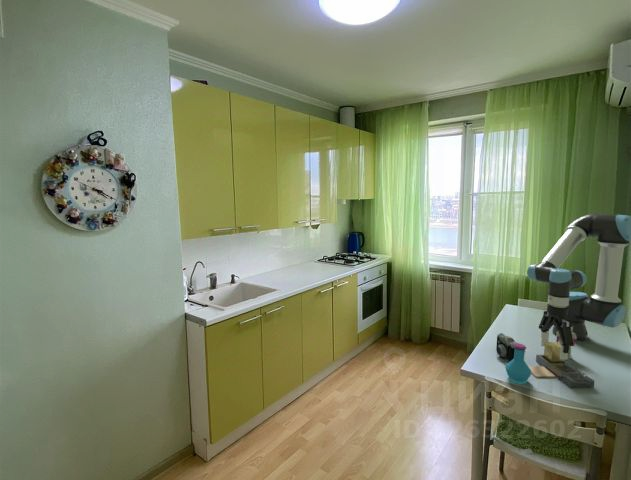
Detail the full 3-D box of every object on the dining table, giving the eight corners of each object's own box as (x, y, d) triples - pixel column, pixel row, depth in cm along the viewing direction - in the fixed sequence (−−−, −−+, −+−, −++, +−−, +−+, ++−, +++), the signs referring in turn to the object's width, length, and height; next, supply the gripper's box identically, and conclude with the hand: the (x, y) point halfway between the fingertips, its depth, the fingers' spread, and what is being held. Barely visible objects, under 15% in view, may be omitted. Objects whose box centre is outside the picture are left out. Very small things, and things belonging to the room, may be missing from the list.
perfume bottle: (500, 374, 148) (502, 340, 145) (520, 373, 148) (523, 339, 146) (514, 386, 138) (516, 351, 136) (535, 385, 139) (538, 349, 137)
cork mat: (543, 367, 152) (543, 366, 152) (555, 377, 144) (555, 376, 144) (524, 367, 152) (525, 366, 152) (536, 377, 144) (536, 376, 144)
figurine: (578, 358, 160) (581, 327, 157) (568, 362, 156) (571, 330, 154) (560, 351, 167) (562, 321, 165) (550, 355, 163) (552, 324, 161)
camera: (488, 349, 170) (489, 330, 169) (502, 348, 170) (503, 329, 169) (506, 364, 156) (507, 343, 154) (521, 363, 156) (522, 342, 154)
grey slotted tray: (555, 360, 158) (556, 354, 158) (593, 388, 136) (594, 380, 136) (535, 360, 158) (536, 354, 158) (570, 388, 136) (571, 381, 136)
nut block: (554, 362, 156) (556, 341, 155) (562, 368, 151) (564, 347, 150) (543, 363, 156) (544, 342, 155) (550, 368, 151) (552, 347, 150)
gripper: (531, 296, 161) (528, 340, 165) (568, 315, 138) (564, 366, 141) (548, 296, 161) (544, 340, 165) (587, 314, 138) (582, 366, 141)
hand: (553, 352), depth 153 cm, fingers open, 12 cm apart
